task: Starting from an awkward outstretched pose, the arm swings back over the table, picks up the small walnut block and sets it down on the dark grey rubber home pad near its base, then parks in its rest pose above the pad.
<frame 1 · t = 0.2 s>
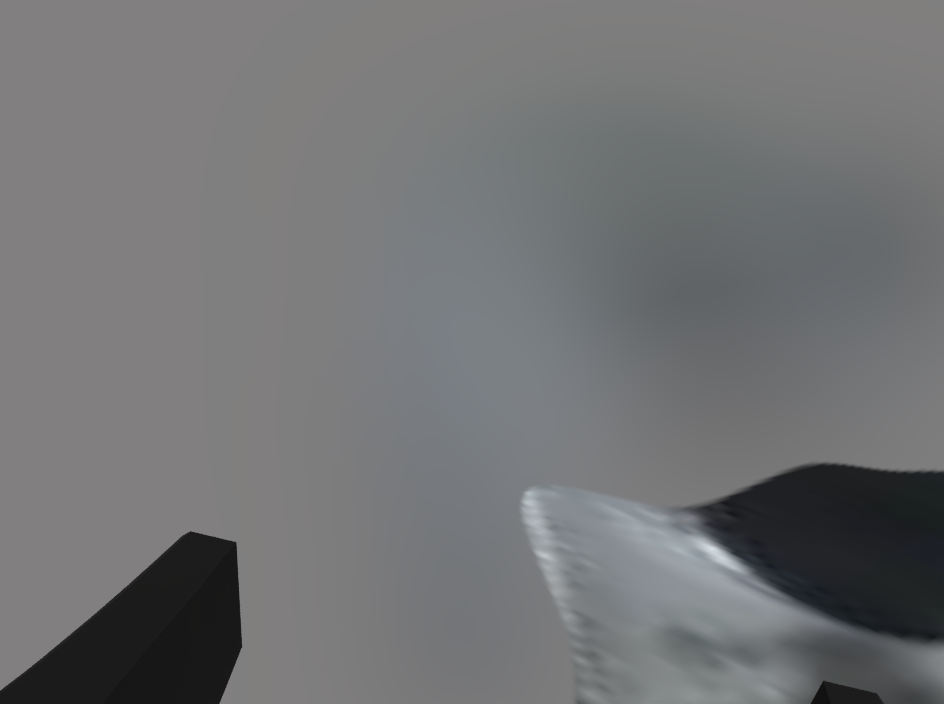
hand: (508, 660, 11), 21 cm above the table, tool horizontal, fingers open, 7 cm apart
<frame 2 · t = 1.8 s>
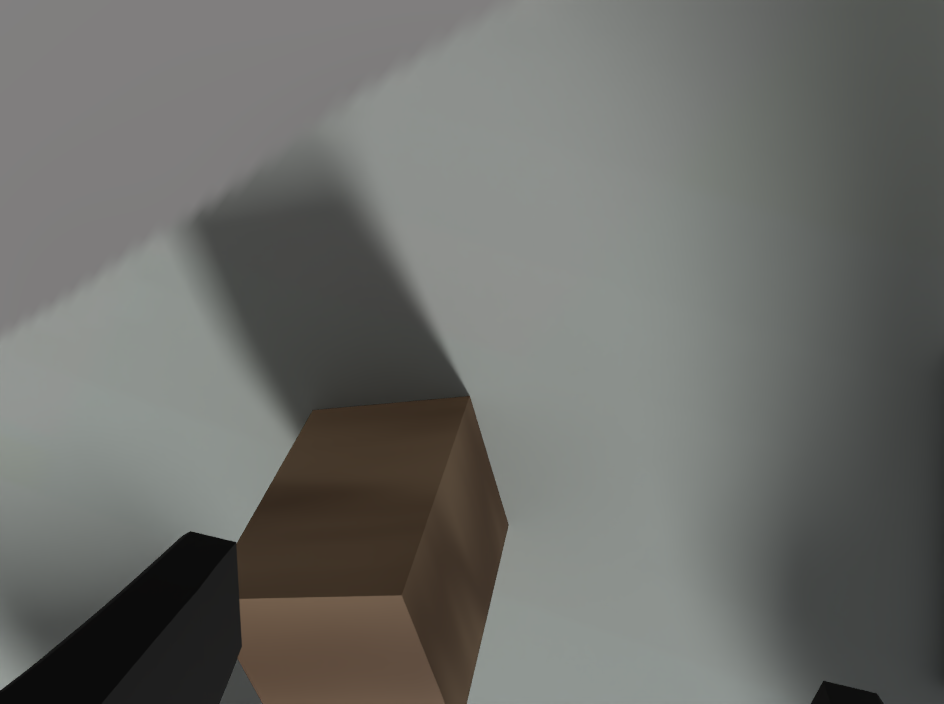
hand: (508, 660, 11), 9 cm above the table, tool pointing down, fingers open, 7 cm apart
block: (412, 468, 22), on the table
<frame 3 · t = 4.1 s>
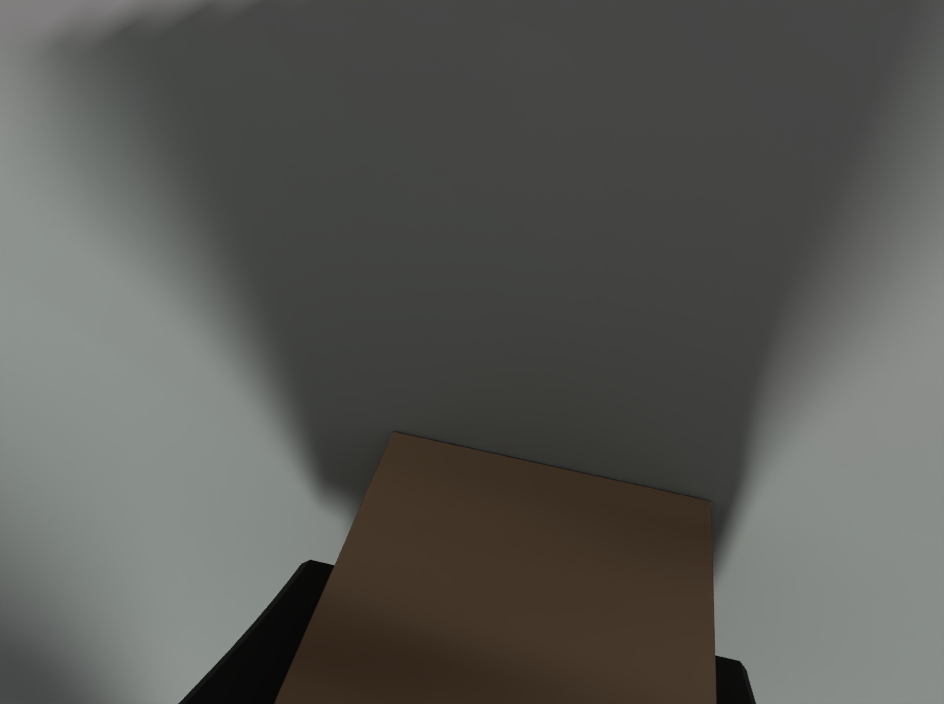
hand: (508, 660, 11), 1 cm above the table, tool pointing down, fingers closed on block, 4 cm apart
block: (525, 575, 12), on the table, touching gripper
when the fingers open (3 cm above the table, at t = 7.5 s): block stays where it is, resting on home pad.
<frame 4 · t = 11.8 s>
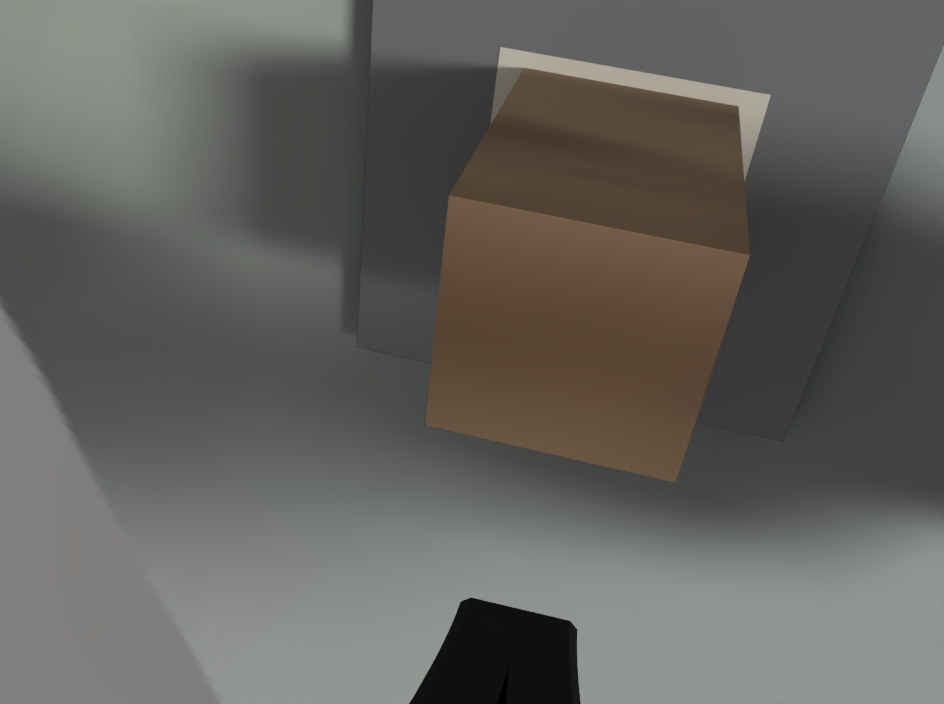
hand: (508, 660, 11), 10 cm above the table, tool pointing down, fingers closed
block: (608, 186, 18), point 1 cm above the table, touching home pad
home pad: (609, 183, 19), on the table
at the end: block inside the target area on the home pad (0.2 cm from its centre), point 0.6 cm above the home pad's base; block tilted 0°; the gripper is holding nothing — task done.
